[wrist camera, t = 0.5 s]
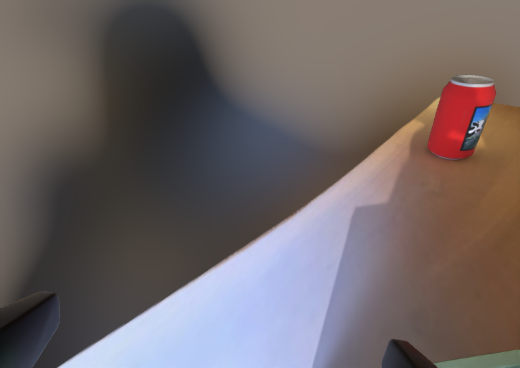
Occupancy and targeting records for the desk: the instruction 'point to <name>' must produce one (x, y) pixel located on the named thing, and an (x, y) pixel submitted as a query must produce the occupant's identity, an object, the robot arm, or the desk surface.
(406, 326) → the desk surface
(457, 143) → the beverage can
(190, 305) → the desk surface
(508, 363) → the open green box
